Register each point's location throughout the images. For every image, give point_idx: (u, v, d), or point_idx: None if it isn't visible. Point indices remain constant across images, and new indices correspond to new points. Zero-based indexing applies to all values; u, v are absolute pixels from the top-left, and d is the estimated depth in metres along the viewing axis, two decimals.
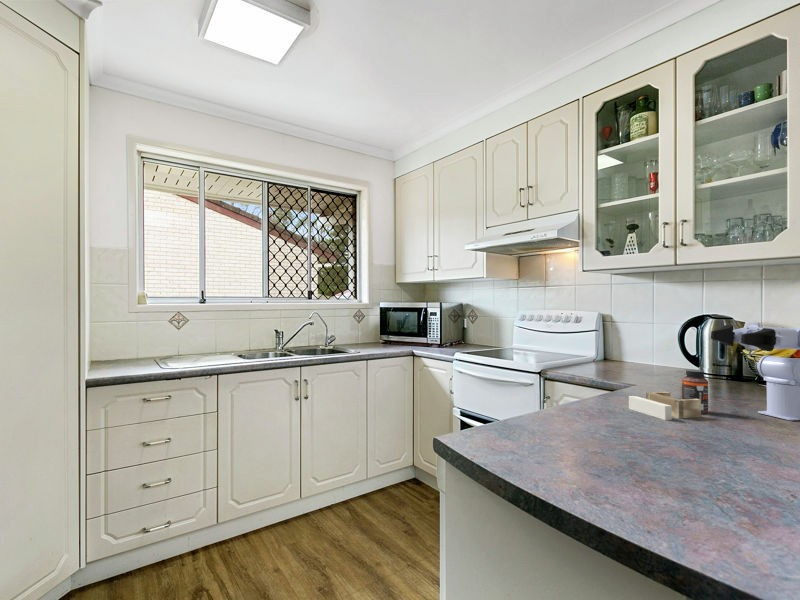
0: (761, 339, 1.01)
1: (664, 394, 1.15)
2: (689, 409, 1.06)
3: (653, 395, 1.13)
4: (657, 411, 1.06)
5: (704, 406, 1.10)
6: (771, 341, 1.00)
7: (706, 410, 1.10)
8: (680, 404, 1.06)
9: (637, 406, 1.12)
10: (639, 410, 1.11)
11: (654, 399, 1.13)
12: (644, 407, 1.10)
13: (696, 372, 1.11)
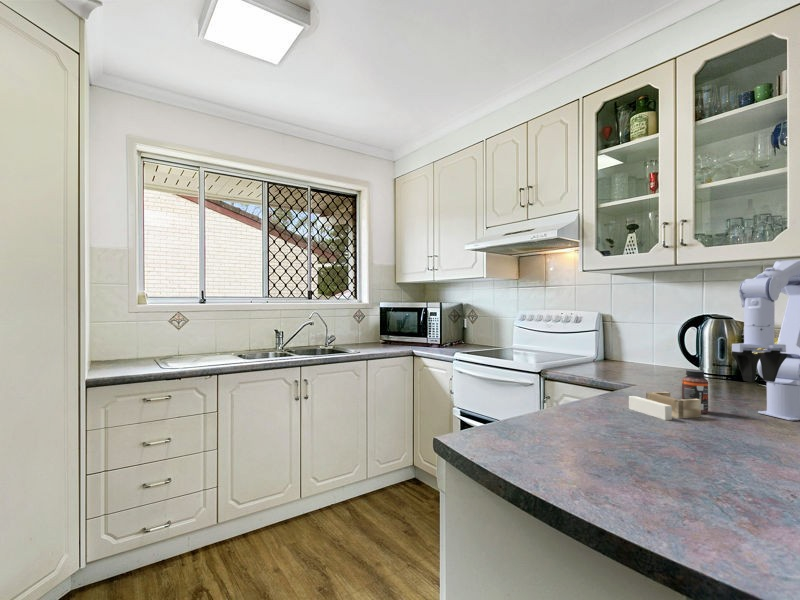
0: None
1: (664, 394, 1.15)
2: (689, 409, 1.06)
3: (653, 395, 1.13)
4: (657, 411, 1.06)
5: (704, 406, 1.10)
6: None
7: (706, 410, 1.10)
8: (680, 404, 1.06)
9: (637, 406, 1.12)
10: (639, 410, 1.11)
11: (654, 399, 1.13)
12: (644, 407, 1.10)
13: (696, 372, 1.11)
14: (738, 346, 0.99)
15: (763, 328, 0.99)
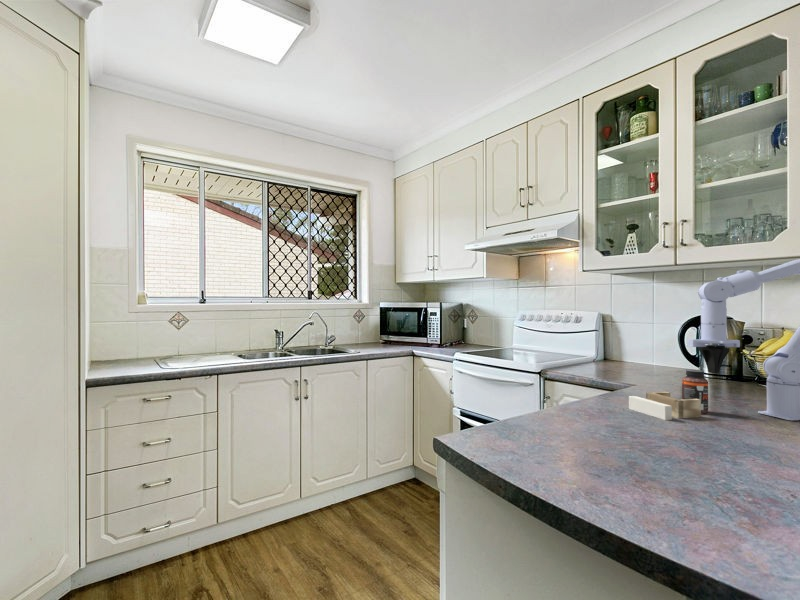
0: None
1: (664, 394, 1.15)
2: (689, 409, 1.06)
3: (653, 395, 1.13)
4: (657, 411, 1.06)
5: (704, 406, 1.10)
6: None
7: (706, 410, 1.10)
8: (680, 404, 1.06)
9: (637, 406, 1.12)
10: (639, 410, 1.11)
11: (654, 399, 1.13)
12: (644, 407, 1.10)
13: (696, 372, 1.11)
14: (692, 342, 1.13)
15: (715, 326, 1.12)
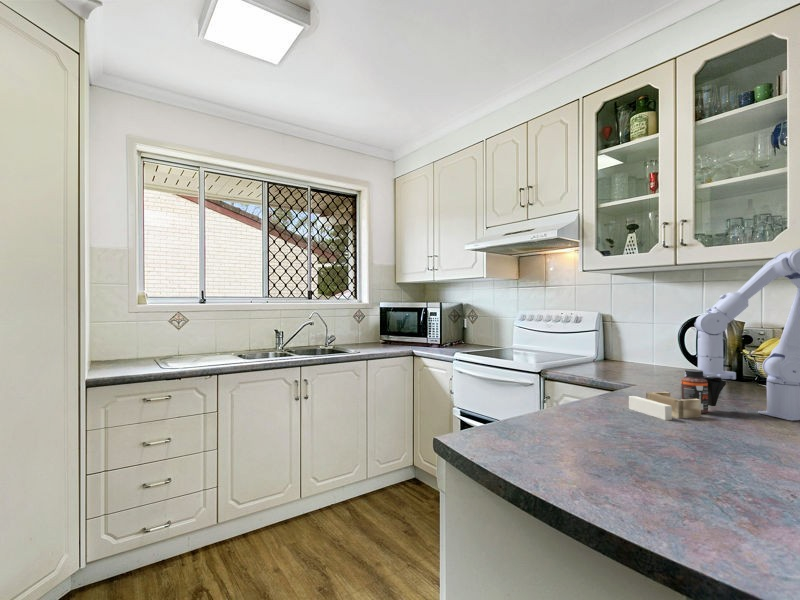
0: None
1: (664, 394, 1.15)
2: (689, 409, 1.06)
3: (653, 395, 1.13)
4: (657, 411, 1.06)
5: (704, 406, 1.10)
6: None
7: (706, 410, 1.10)
8: (680, 404, 1.06)
9: (637, 406, 1.12)
10: (639, 410, 1.11)
11: (654, 399, 1.13)
12: (644, 407, 1.10)
13: (695, 372, 1.11)
14: None
15: (712, 359, 1.12)
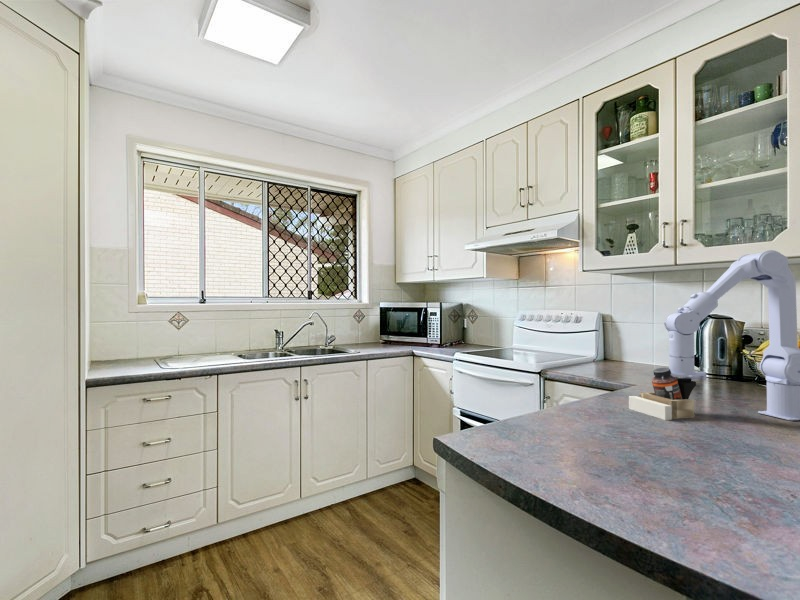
0: None
1: None
2: (682, 409, 1.06)
3: (646, 396, 1.13)
4: (657, 411, 1.06)
5: None
6: None
7: None
8: (673, 405, 1.05)
9: (637, 406, 1.12)
10: (639, 410, 1.11)
11: (648, 399, 1.12)
12: (644, 407, 1.10)
13: (662, 373, 1.10)
14: None
15: (683, 359, 1.10)
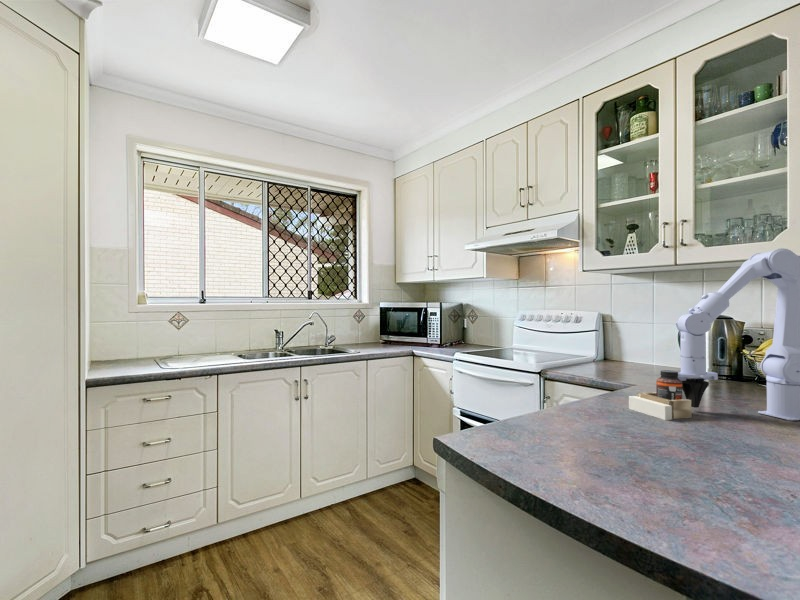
0: None
1: (655, 394, 1.15)
2: (679, 410, 1.05)
3: (643, 396, 1.13)
4: (657, 411, 1.06)
5: None
6: None
7: None
8: (670, 405, 1.05)
9: (637, 406, 1.12)
10: (639, 410, 1.11)
11: None
12: (644, 407, 1.10)
13: (669, 372, 1.10)
14: None
15: (695, 359, 1.10)
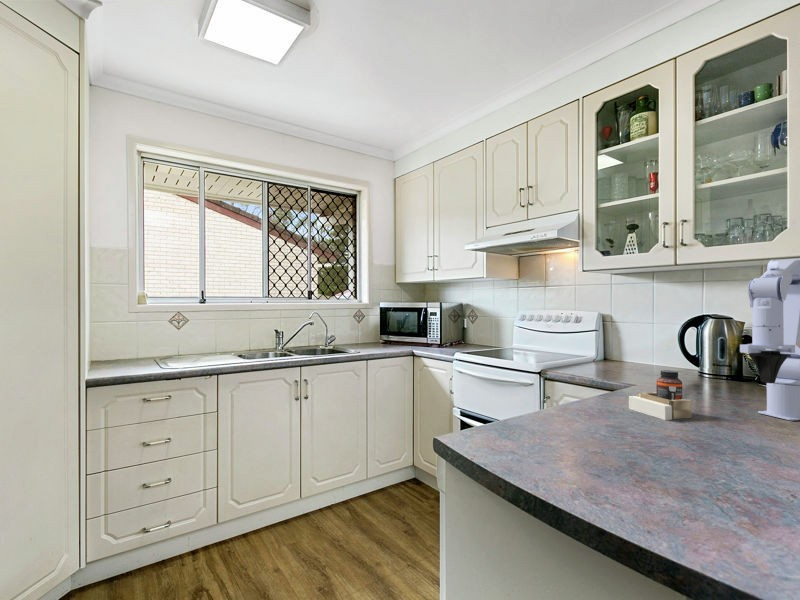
0: None
1: (655, 394, 1.15)
2: (679, 410, 1.05)
3: (643, 396, 1.13)
4: (657, 411, 1.06)
5: None
6: None
7: None
8: (670, 405, 1.05)
9: (637, 406, 1.12)
10: (639, 410, 1.11)
11: None
12: (644, 407, 1.10)
13: (669, 372, 1.10)
14: (746, 348, 0.97)
15: (772, 328, 0.97)
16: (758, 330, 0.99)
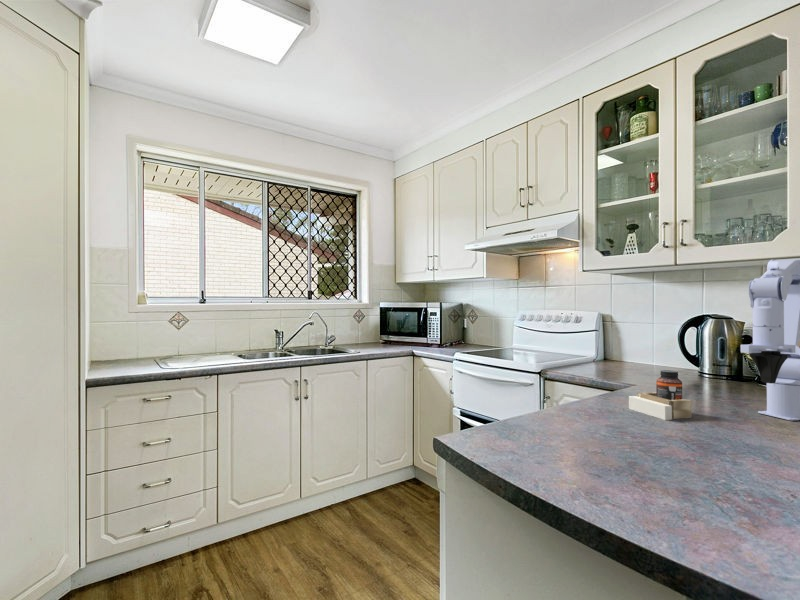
0: None
1: (655, 394, 1.15)
2: (679, 410, 1.05)
3: (643, 396, 1.13)
4: (657, 411, 1.06)
5: None
6: None
7: None
8: (670, 405, 1.05)
9: (637, 406, 1.12)
10: (639, 410, 1.11)
11: None
12: (644, 407, 1.10)
13: (669, 372, 1.10)
14: (747, 348, 0.97)
15: (772, 329, 0.97)
16: (759, 330, 0.99)
